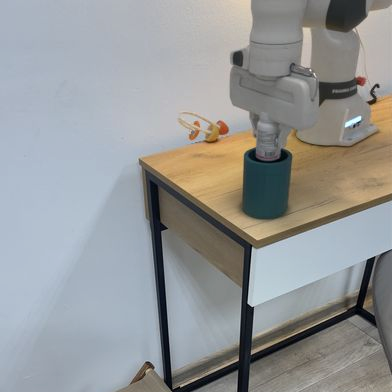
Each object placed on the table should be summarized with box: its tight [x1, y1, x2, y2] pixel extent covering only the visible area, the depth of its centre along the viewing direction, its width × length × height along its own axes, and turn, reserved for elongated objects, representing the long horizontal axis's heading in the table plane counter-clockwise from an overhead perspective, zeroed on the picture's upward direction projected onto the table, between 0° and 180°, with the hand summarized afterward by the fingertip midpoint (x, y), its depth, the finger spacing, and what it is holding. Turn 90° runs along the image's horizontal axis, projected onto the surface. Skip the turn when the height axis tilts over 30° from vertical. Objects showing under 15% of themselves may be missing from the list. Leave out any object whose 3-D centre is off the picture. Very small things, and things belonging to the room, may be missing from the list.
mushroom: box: [177, 110, 230, 142], centre depth 130 cm, size 7×8×15 cm
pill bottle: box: [255, 111, 281, 161], centre depth 91 cm, size 5×5×8 cm
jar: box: [241, 146, 294, 220], centre depth 98 cm, size 9×9×11 cm
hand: (269, 142), depth 92 cm, fingers closed on pill bottle, 5 cm apart
